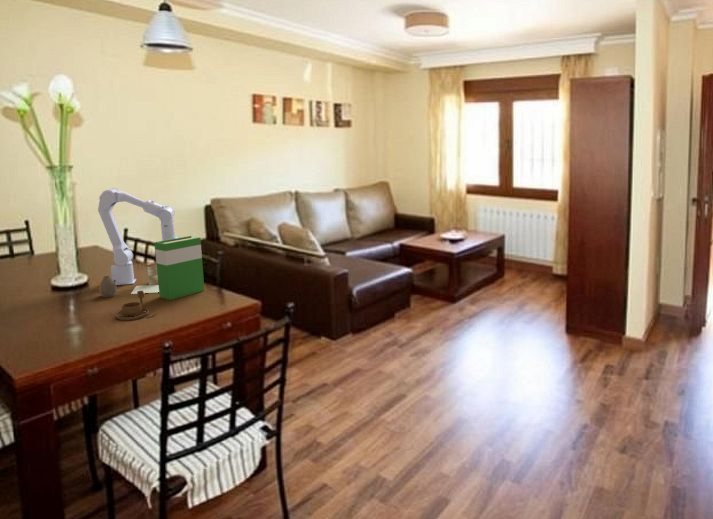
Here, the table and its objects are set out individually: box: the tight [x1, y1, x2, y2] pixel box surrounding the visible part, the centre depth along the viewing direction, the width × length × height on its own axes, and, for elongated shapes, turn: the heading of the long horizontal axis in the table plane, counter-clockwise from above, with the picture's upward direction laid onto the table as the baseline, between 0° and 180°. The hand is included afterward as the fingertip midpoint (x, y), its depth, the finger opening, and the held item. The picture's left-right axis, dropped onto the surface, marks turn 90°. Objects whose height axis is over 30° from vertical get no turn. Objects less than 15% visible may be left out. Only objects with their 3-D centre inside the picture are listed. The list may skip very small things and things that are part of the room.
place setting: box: [115, 291, 156, 321], centre depth 214 cm, size 18×20×6 cm
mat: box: [130, 284, 159, 295], centre depth 246 cm, size 16×13×1 cm
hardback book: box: [154, 235, 205, 301], centre depth 236 cm, size 18×7×24 cm, turn 142°
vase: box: [98, 275, 118, 298], centre depth 236 cm, size 7×7×9 cm
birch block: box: [146, 261, 158, 285], centre depth 254 cm, size 5×5×10 cm
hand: (170, 259), depth 263 cm, fingers open, 7 cm apart
